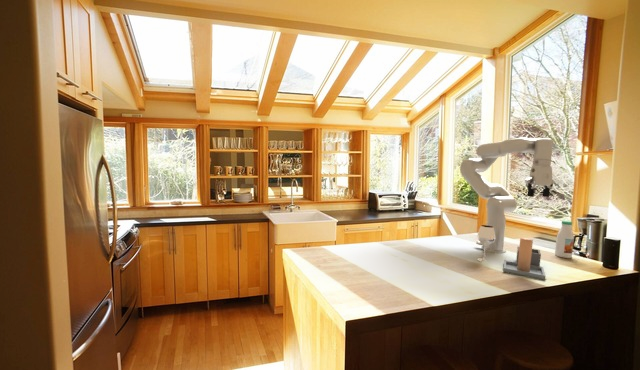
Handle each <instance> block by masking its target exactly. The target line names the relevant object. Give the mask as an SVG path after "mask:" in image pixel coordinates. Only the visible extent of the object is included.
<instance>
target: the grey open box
mask: <svg viewBox="0 0 640 370" xmlns="http://www.w3.org/2000/svg"><path fill="white" fill-rule="evenodd" d="M518 256H519V246H517V249H516V257H515V260H516V261H515V262H516V263H518ZM541 256H542V253H541V250H540V249H535V248H532V254H531V264H530V265H533V266H539V267H541V266H540V265H541Z"/></svg>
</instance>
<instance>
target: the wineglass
mask: <svg viewBox="0 0 640 370" xmlns="http://www.w3.org/2000/svg"><path fill="white" fill-rule="evenodd" d="M477 239H478V240H477V241H480V242H481V243H482V244H483V245H484V250H483V258H481V257H479V258H477V261H478V262H482V261H487V259H486V253H487V251H486V247H487V246H488V245H490V244H491V243H493V242H494V241H495V232H494V227H493V226H488V225H487V224H483V225H480V227H479V230H478V232H477ZM483 245H482V246H483Z"/></svg>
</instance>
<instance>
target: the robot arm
mask: <svg viewBox="0 0 640 370" xmlns="http://www.w3.org/2000/svg"><path fill="white" fill-rule="evenodd" d="M553 145H554V140H553V139H552V138H546V137H544V138H543V137H541V138H528V137H516V138H509V139H505V140H501V141H495V142H490V143H488V142H487V143H483V144H480V145H478V147H476V151H475V152H476V156H478V157H479V158H471V157H470V158H465V159H463V161H461V163H460V165H459V166H460V167H459V171H460V175H461V176H462V177H463V179H464V180H465V181H466V182H467V183H468V185H469V186H470V187H471V188H472V189H473V191H475V193H477V195H478V196H479V197H480V198H481V199H483V200H487V201H486V225H488V226H493V227H494V232H495V241H494V242H493V243H491V244H490V245H488V246H487V247H486V252H491V253H496V254H504V253H507V250H506V249H505V248H504V243H505V233H506V225H507V224H506V223H507V219H506V216H505V213H512V212H514V211H516V209H517V207H518V205H517V201H516V199H515V197H514V196H512V194H511V193H509V191H508V190H507V189H506V188H505V187H504V186H503V185H501V184H499V183H497V182H496V183H492V182H489V181H487V180H486V179H485V178H484V177H483V176H482V175H481V174H480V173H484V172H486V171H488V169H489V168H490V167H491V166H492V165H493V164H494V163H495V162H496V161H497V160H498V159H499V158H501V157H506V156H507V155H508V154H513V153H514V154H515V153H526V154H533V160H532V165H531V168H530V171H529V176H528V178H525V180H524V182H525V186H526V188H527V195H526V196H527V197H532V198H533V197H534V195H535V187H536V186H541V187H542V186H543V191H542V197H545V198H550V193H551V189H552V187H553V186H554V184H555V180H554V179H553V167H552V165H551V163H552V154H553V148H554V147H553ZM475 243H476V245H477V246H481V250H483V251H484V245H483V244H482V243H481V242H480V241H479V240H476V242H475Z"/></svg>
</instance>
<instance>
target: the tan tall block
mask: <svg viewBox="0 0 640 370" xmlns="http://www.w3.org/2000/svg"><path fill="white" fill-rule="evenodd" d="M533 240H534V239H532V238H527V237H520V238H519V245H518V247H519V256H518V266H517V270H520V271H525V272H530V264H531V254H532V249H533V245H534V244H533V242H534V241H533Z"/></svg>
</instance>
